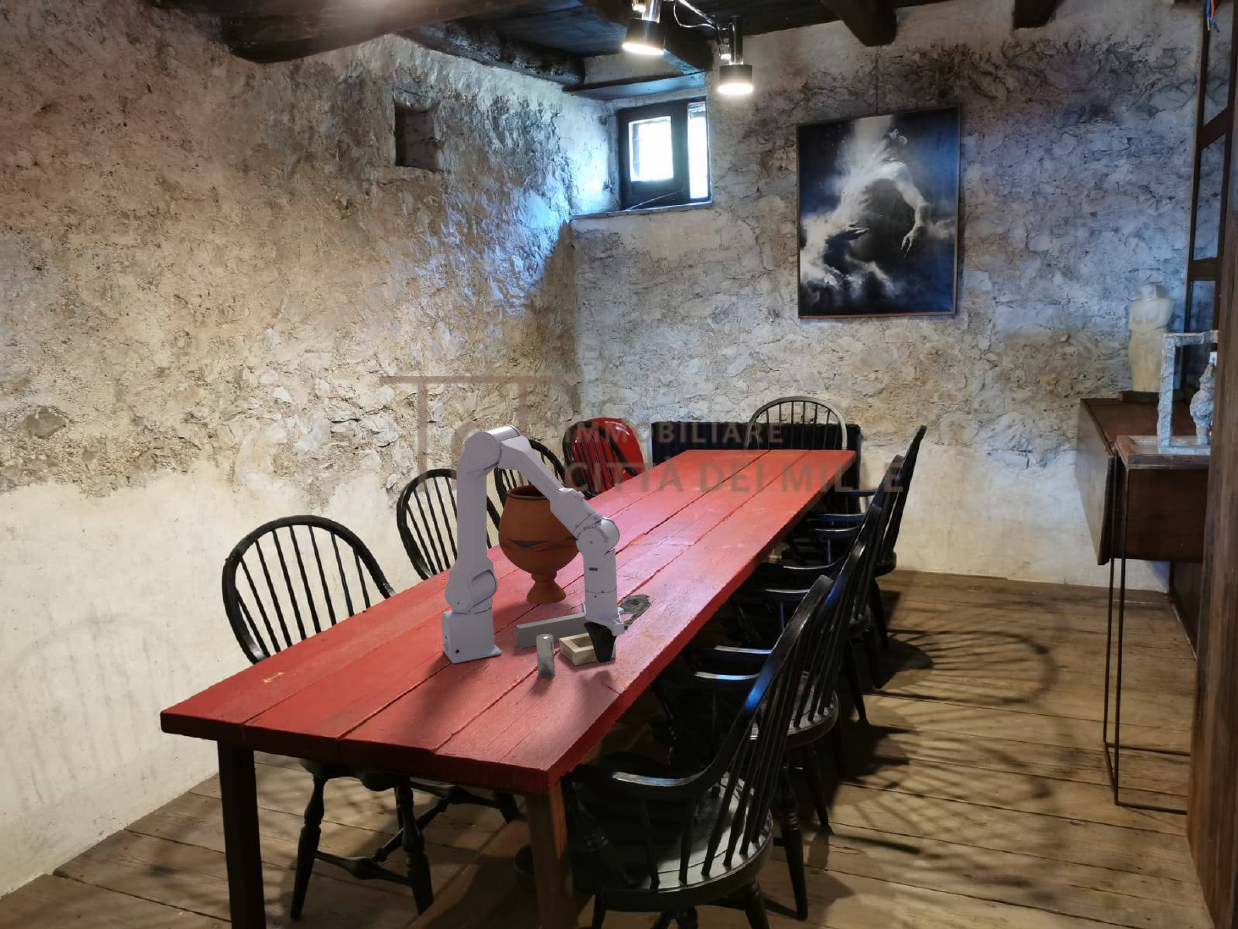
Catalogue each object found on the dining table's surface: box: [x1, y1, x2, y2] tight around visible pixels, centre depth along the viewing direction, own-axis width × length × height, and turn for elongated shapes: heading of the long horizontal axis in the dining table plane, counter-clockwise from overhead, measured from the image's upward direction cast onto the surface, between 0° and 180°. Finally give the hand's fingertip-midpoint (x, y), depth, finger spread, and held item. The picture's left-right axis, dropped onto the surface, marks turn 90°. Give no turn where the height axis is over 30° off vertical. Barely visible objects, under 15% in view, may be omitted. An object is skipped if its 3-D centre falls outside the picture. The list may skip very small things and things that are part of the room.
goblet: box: [497, 483, 580, 605], centre depth 203 cm, size 19×19×25 cm
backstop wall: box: [515, 612, 591, 649], centre depth 180 cm, size 20×2×4 cm, turn 115°
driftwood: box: [618, 593, 652, 628], centre depth 194 cm, size 21×7×2 cm, turn 158°
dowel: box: [536, 634, 556, 679], centre depth 162 cm, size 3×3×7 cm
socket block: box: [558, 633, 617, 666], centre depth 171 cm, size 8×8×2 cm
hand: (603, 661), depth 164 cm, fingers closed
